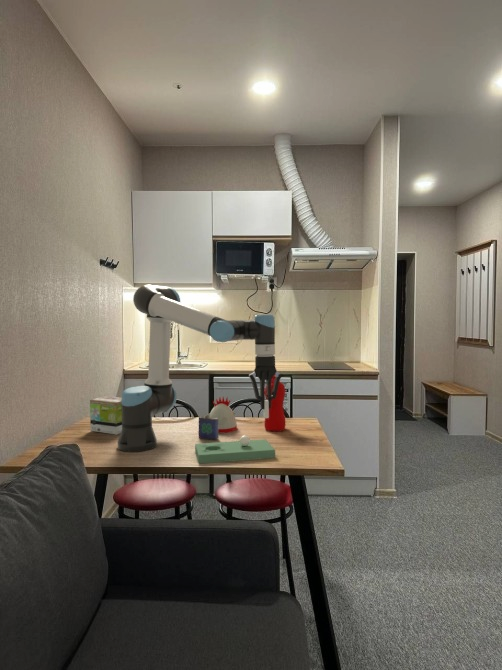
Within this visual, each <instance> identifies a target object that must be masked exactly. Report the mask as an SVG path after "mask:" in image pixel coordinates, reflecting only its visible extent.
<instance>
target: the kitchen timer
mask: <svg viewBox="0 0 502 670" xmlns="http://www.w3.org/2000/svg"><path fill="white" fill-rule="evenodd" d="M221 398H222V399H221ZM228 399H229V398H228V396H227V397H226V399H225V398H224V396H222V397H221V396H219V398H218V399H217V398H216V399H215V401H216V403H215V402H214V400H212V402H213V408H212V409H211V411H210V413H209V414H210V415H209V416H210V418H218V420H219V421H218V434H219V433H220V434H221V433H222V434H224V433H230V432H234V431H237V429H238V427H237V426H238V424H237V419H236V417H235V412H234V411H233V410H232V408H231V407H230V406H229V405H230V404H231V400H232V399H230V400H229V401H228Z"/></svg>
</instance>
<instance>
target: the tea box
mask: <svg viewBox="0 0 502 670" xmlns="http://www.w3.org/2000/svg"><path fill="white" fill-rule="evenodd" d="M121 399H122V397H116V396H106V395H104V396H100V397H97V398H93V399H90V400H89V413H90V415H89V417H90V419H89V420H90V432H98V433H104V434H111V435H116V436H117V435H120V433H121V430H122V404H121Z"/></svg>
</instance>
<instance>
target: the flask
mask: <svg viewBox="0 0 502 670" xmlns="http://www.w3.org/2000/svg"><path fill="white" fill-rule="evenodd" d="M209 415H210V413H206V415H202V416H199V417H198V439H200V440H201V439H202V440H208V441H209V440H211V441H214V440H215V441H218V440H219V433H218V421H219V420H218V418H210V416H209Z"/></svg>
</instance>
